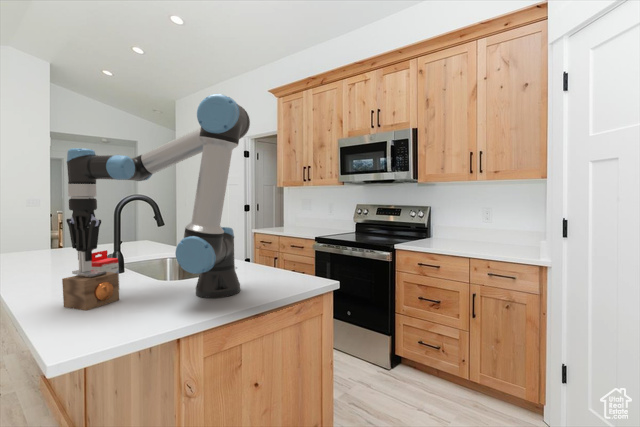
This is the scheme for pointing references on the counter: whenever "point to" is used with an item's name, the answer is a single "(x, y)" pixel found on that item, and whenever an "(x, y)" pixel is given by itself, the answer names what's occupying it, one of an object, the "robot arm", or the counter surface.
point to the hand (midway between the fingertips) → (85, 270)
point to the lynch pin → (103, 291)
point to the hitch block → (87, 291)
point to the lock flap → (89, 273)
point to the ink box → (105, 263)
